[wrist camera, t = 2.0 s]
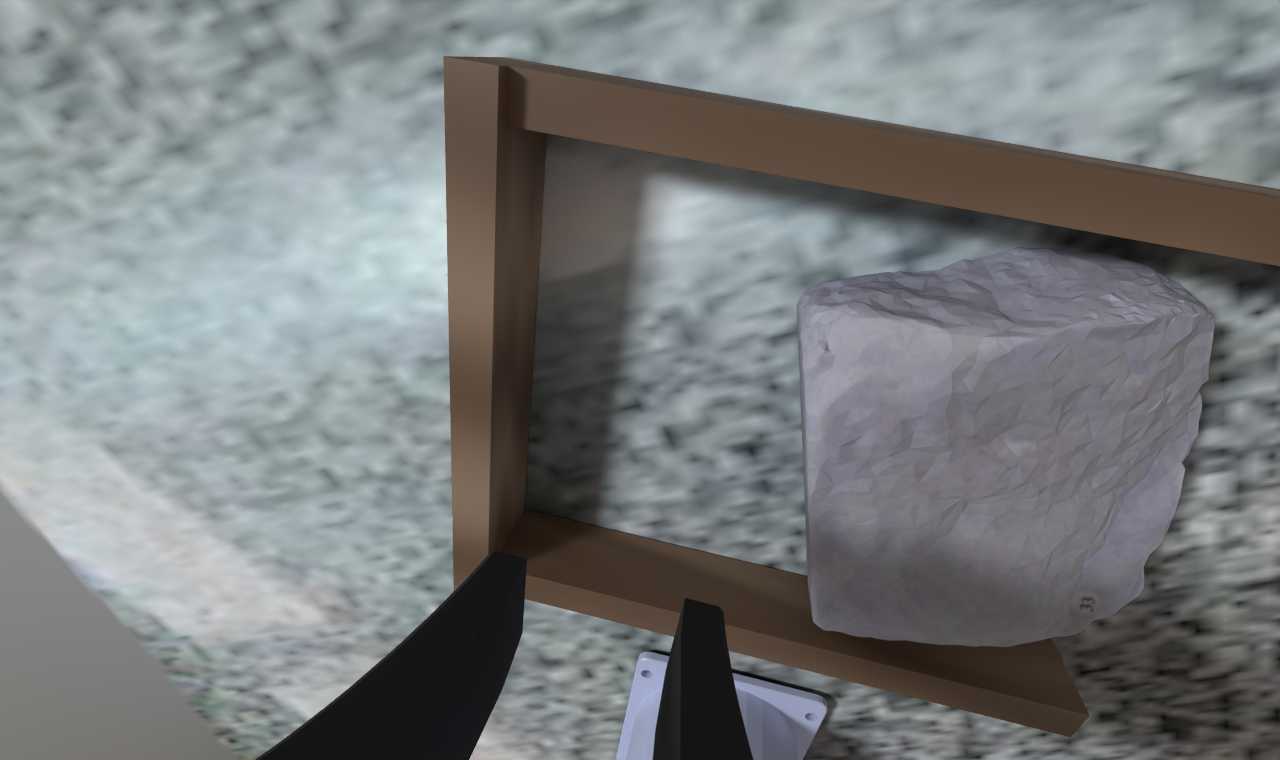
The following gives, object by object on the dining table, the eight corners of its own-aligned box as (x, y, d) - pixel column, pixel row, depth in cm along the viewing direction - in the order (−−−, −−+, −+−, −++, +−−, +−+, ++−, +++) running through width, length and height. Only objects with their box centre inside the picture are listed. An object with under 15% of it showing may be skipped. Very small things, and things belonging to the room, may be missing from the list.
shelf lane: (1033, 655, 22) (1077, 753, 19) (493, 524, 23) (453, 593, 20) (1369, 205, 14) (1546, 246, 10) (506, 57, 15) (443, 56, 12)
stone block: (1125, 209, 16) (762, 275, 17) (1304, 261, 12) (810, 347, 13) (1057, 530, 22) (787, 572, 22) (1163, 644, 18) (827, 691, 18)
